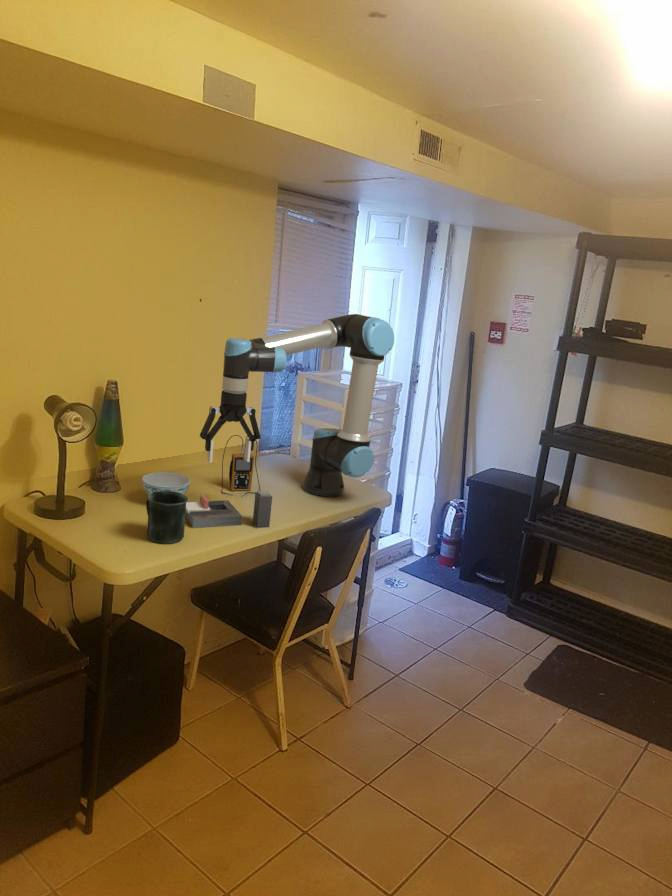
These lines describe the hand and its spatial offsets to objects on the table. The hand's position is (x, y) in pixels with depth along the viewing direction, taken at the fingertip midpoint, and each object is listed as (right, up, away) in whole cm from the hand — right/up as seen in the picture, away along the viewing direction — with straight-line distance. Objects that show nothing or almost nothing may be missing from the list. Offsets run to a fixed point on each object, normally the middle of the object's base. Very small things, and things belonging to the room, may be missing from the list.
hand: (228, 460), depth 213 cm
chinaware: (-22, -14, +11) cm, 28 cm away
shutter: (-10, -14, 0) cm, 18 cm away
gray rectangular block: (+10, -20, +1) cm, 22 cm away
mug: (-17, -21, -16) cm, 31 cm away
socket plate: (-6, -18, +2) cm, 19 cm away
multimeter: (+1, -12, +28) cm, 30 cm away
